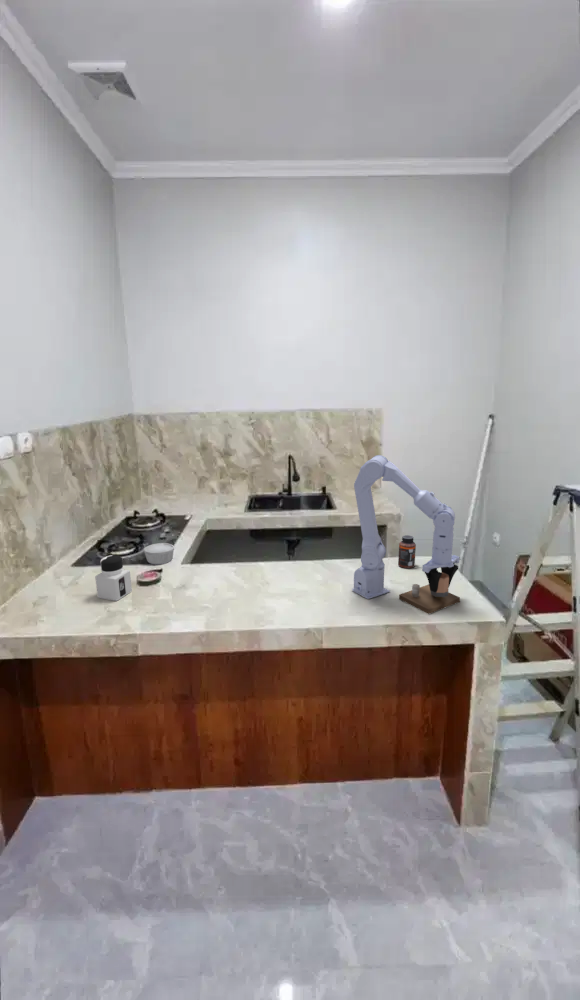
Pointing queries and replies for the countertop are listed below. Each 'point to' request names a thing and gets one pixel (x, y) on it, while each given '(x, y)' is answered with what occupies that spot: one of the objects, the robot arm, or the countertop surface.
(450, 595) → the pin board
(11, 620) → the countertop surface
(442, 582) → the sleeve
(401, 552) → the supplement bottle
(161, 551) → the ramekin
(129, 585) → the container
